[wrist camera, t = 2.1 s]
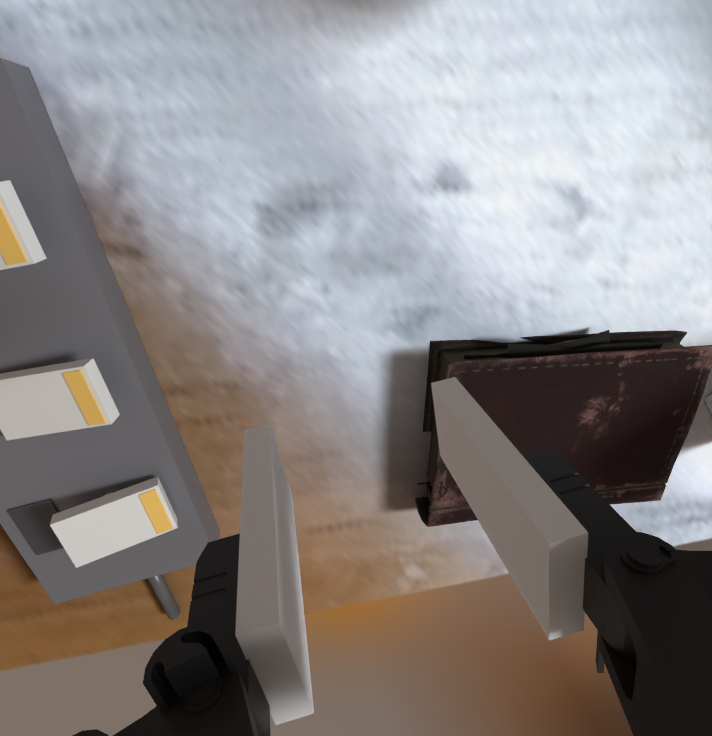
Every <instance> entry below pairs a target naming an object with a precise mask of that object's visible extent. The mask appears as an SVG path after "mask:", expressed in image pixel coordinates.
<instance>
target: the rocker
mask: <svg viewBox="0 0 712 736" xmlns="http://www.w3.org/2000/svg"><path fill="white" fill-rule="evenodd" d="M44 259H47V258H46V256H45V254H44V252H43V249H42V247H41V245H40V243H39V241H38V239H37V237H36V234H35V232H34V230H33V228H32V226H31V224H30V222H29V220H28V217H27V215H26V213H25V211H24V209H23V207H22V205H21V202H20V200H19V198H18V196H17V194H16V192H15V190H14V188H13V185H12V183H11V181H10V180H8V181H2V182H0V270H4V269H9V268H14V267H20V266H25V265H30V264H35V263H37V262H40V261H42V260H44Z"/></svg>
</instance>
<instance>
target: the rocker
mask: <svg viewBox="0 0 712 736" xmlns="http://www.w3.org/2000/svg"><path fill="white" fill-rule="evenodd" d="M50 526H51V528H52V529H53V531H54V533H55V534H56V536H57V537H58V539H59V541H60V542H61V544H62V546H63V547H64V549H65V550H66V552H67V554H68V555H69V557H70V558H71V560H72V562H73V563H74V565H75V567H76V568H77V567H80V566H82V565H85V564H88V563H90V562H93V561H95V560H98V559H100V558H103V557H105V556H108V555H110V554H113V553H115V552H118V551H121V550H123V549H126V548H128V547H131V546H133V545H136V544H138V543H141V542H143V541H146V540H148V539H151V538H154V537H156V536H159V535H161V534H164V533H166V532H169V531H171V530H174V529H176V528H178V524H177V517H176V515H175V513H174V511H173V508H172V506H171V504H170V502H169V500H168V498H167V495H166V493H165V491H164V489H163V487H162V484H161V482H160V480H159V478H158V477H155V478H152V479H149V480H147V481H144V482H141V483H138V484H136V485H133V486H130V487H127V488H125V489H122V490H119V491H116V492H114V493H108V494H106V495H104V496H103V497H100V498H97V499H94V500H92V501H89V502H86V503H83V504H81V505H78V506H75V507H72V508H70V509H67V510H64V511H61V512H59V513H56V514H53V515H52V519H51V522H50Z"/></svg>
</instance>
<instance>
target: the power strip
mask: <svg viewBox="0 0 712 736" xmlns="http://www.w3.org/2000/svg"><path fill="white" fill-rule="evenodd" d="M8 180H10V181H11V183H12V185H13V188H14V190H15V192H16V194H17V196H18V198H19V200H20V202H21V205H22V207H23V209H24V211H25V213H26V215H27V217H28V220H29V222H30V224H31V226H32V228H33V230H34V232H35V234H36V237H37V239H38V241H39V243H40V245H41V247H42V249H43V252H44V254H45V256H46V258H47V259H44V260H42V261H40V262H37V263H35V264H30V265H25V266H20V267H14V268H9V269H4V270H0V374H1V373H7V372H13V371H19V370H24V369H30V368H36V367H42V366H48V365H54V364H60V363H66V362H72V361H78V360H84V359H90V358H94V360H95V363H96V365H97V367H98V369H99V371H100V373H101V375H102V378H103V380H104V382H105V384H106V386H107V388H108V390H109V393H110V395H111V397H112V399H113V401H114V403H115V405H116V407H117V410H118V412H119V414H120V415H119V416H118V417H117V419H116V420H115V421H114V422H113V423H112V424H110V425H103V426H97V427H91V428H84V429H78V430H71V431H65V432H58V433H52V434H46V435H39V436H33V437H26V438H20V439H13V440H6V438H5V437H4V435H3V433H2V432H1V430H0V524H1V526H2V527H3V529H4V530H5V532H6V533H7V535H8V536H9V537H10V539H11V540H12V542H13V543H14V545H15V546H16V548H17V549H18V551H19V552H20V554H21V555H22V557H23V558H24V560H25V561H26V562H27V564H28V565H29V567H30V568H31V570H32V571H33V573H34V574H35V576H36V577H37V579H38V580H39V582H40V583H41V585H42V586H43V588H44V589H45V590H46V592H47V593H48V595H49V596H50V598H51V599H52V601H53V602H54V604H56V603H60V602H64V601H67V600H71V599H75V598H78V597H82V596H85V595H89V594H93V593H96V592H100V591H104V590H107V589H111V588H114V587H118V586H122V585H125V584H129V583H133V582H136V581H140V580H143V579H148V581H149V582H150V584H151V586H152V588H153V590H154V592H155V594H156V596H157V597H158V599H159V601H160V603H161V605H162V607H163V609H164V611H165V612H166V614H167V616H168V618H169V619H171V620H174V619H177V618H178V617H179V615H180V609H179V607H178V605H177V603H176V601H175V599H174V597H173V595H172V594H171V592H170V590H169V588H168V586H167V584H166V582H165V580H164V578H163V576H162V574H165V573H169V572H172V571H176V570H180V569H183V568H187V567H191V566H194V565H196V563H197V560H198V559H199V557H200V555H201V553H202V552H203V550H204V548H205V546H206V545H207V543H208V542H211V541H215V540H219V533H220V531H219V528H218V526H217V523H216V521H215V518H214V516H213V514H212V511H211V509H210V506H209V504H208V501H207V499H206V497H205V494H204V492H203V489H202V487H201V484H200V482H199V480H198V477H197V475H196V472H195V470H194V467H193V465H192V463H191V460H190V458H189V455H188V453H187V450H186V448H185V446H184V443H183V441H182V438H181V436H180V433H179V431H178V429H177V426H176V424H175V421H174V419H173V416H172V414H171V412H170V409H169V407H168V404H167V402H166V399H165V397H164V395H163V392H162V390H161V387H160V385H159V382H158V380H157V378H156V375H155V373H154V370H153V368H152V365H151V363H150V361H149V358H148V356H147V353H146V351H145V348H144V346H143V344H142V341H141V339H140V336H139V334H138V331H137V329H136V327H135V324H134V322H133V319H132V317H131V314H130V312H129V310H128V307H127V305H126V302H125V300H124V297H123V295H122V293H121V290H120V288H119V285H118V283H117V280H116V278H115V276H114V273H113V271H112V268H111V266H110V263H109V261H108V259H107V256H106V254H105V251H104V249H103V246H102V244H101V242H100V239H99V237H98V234H97V232H96V229H95V227H94V225H93V222H92V220H91V217H90V215H89V212H88V210H87V208H86V205H85V203H84V200H83V198H82V195H81V193H80V191H79V188H78V186H77V183H76V181H75V178H74V176H73V174H72V171H71V169H70V166H69V164H68V162H67V159H66V157H65V154H64V152H63V149H62V147H61V145H60V142H59V140H58V137H57V135H56V132H55V130H54V128H53V125H52V123H51V120H50V118H49V115H48V113H47V111H46V108H45V106H44V103H43V101H42V98H41V96H40V94H39V91H38V89H37V86H36V84H35V81H34V79H33V77H32V74H31V72H30V69H29V68H28V67H25V66H22V65H19V64H16V63H13V62H10V61H7V60H5V59H2V58H1V59H0V182H2V181H8ZM155 477H158V478H159V480H160V482H161V484H162V487H163V489H164V491H165V493H166V495H167V498H168V500H169V502H170V504H171V506H172V508H173V511H174V513H175V515H176V517H177V524H178V528H176V529H174V530H171V531H169V532H166V533H164V534H161V535H159V536H156V537H154V538H151V539H148V540H146V541H143V542H141V543H138V544H136V545H133V546H131V547H128V548H126V549H123V550H121V551H118V552H115V553H113V554H110V555H108V556H105V557H103V558H100V559H98V560H95V561H93V562H90V563H88V564H85V565H82V566H80V567H77V568H76V567H75V565H74V563H73V562H72V560H71V558H70V557H69V555H68V554H67V552H66V550H65V549H64V547H63V546H62V544H61V542H60V541H59V539H58V537H57V536H56V534H55V533H54V531H53V529H52V528H51V526H50V522H51V519H52V515H53V514H56V513H59V512H61V511H64V510H67V509H70V508H72V507H75V506H78V505H81V504H83V503H86V502H89V501H92V500H94V499H97V498H100V497H103V496H104V495H106V494H108V493H114V492H116V491H119V490H122V489H125V488H127V487H130V486H133V485H136V484H138V483H141V482H144V481H147V480H149V479H152V478H155Z"/></svg>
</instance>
